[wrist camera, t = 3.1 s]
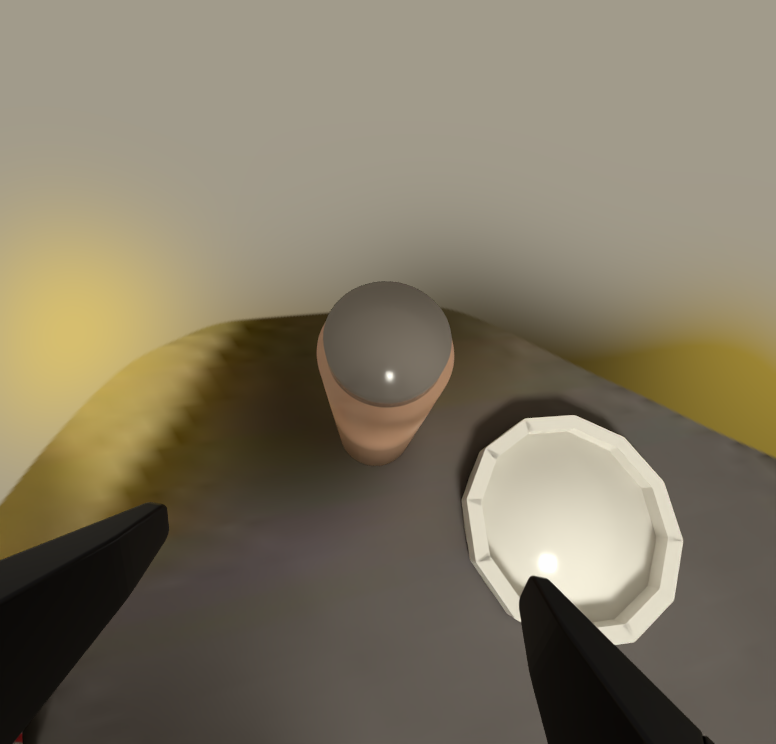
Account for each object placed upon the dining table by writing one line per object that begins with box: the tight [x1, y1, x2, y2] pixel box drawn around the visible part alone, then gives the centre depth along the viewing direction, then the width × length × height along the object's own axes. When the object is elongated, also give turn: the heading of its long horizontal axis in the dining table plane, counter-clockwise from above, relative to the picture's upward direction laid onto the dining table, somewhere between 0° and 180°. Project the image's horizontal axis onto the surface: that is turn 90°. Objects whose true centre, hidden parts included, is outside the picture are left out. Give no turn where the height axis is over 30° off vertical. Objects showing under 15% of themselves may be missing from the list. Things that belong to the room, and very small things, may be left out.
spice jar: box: [317, 281, 454, 466], centre depth 17 cm, size 4×4×13 cm
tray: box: [461, 415, 683, 645], centre depth 21 cm, size 12×12×2 cm
